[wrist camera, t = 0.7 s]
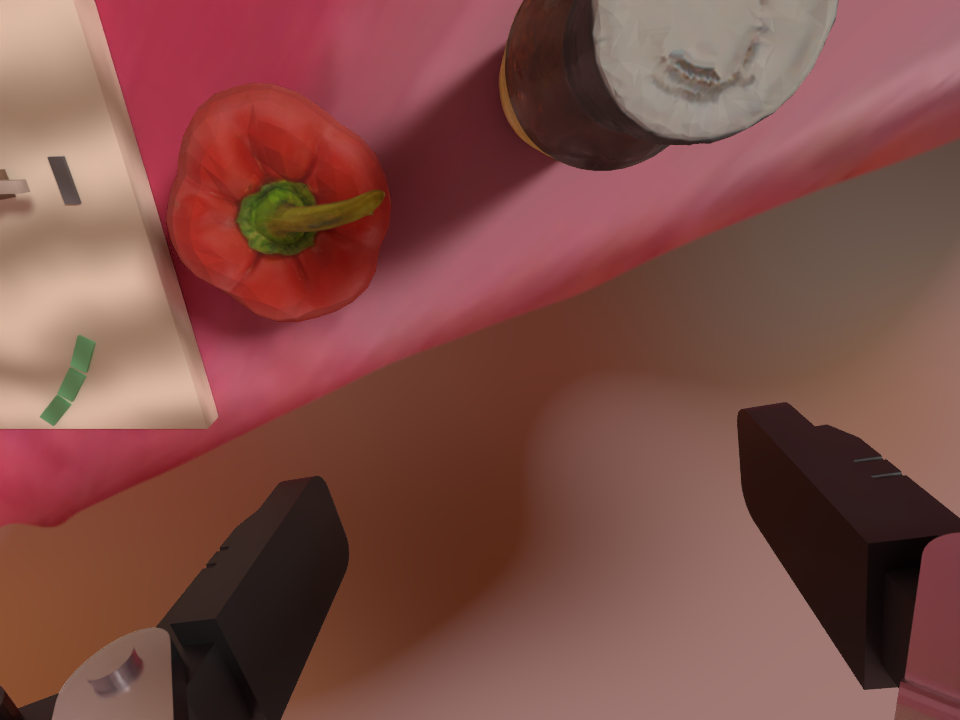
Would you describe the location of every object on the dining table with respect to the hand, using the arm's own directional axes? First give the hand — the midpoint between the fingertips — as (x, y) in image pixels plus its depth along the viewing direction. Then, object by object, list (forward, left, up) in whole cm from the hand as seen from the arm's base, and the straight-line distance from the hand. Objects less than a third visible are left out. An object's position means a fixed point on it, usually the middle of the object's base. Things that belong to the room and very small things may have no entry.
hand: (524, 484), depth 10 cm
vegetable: (-2, -10, -22) cm, 25 cm away
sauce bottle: (-7, +3, -22) cm, 23 cm away
